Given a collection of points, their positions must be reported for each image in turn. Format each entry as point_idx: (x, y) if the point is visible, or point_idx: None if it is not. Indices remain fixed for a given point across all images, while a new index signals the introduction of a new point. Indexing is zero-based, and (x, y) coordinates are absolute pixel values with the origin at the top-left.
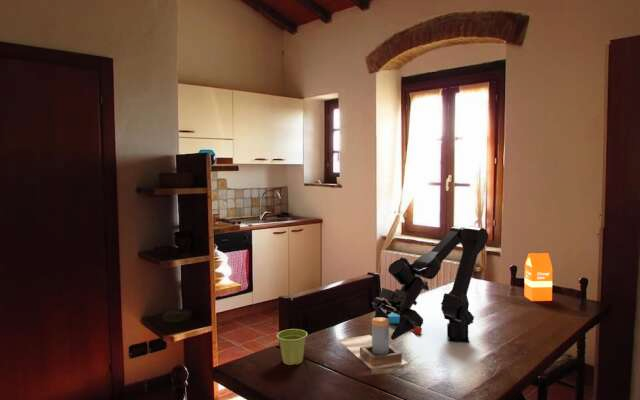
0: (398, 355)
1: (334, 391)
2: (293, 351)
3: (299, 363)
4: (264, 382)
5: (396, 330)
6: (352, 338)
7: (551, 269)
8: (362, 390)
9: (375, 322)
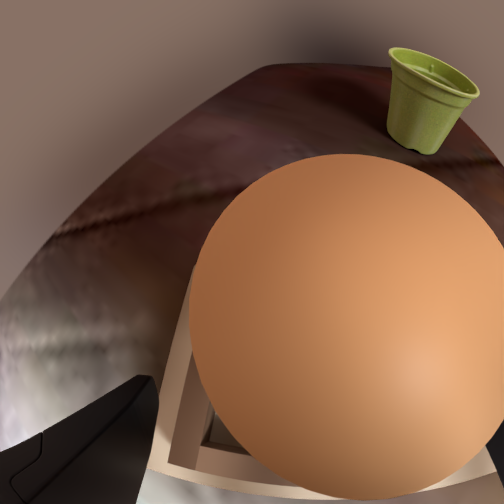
0: (175, 440)
1: (181, 130)
2: (391, 89)
3: (391, 135)
4: (315, 74)
5: (69, 420)
6: None
7: None
8: (127, 181)
9: (313, 161)
